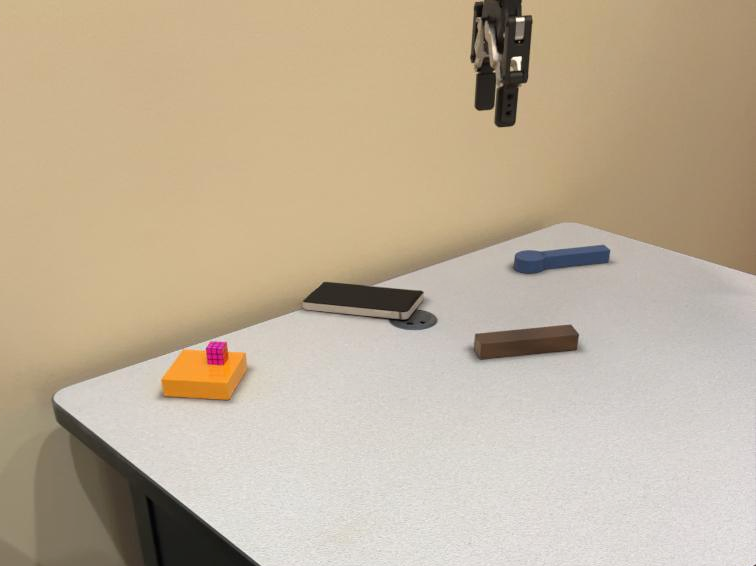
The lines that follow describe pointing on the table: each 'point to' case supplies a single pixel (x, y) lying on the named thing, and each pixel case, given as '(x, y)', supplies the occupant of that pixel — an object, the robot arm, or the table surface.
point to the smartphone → (364, 300)
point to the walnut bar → (526, 341)
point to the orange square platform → (205, 373)
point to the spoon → (559, 258)
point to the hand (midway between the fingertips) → (493, 117)
